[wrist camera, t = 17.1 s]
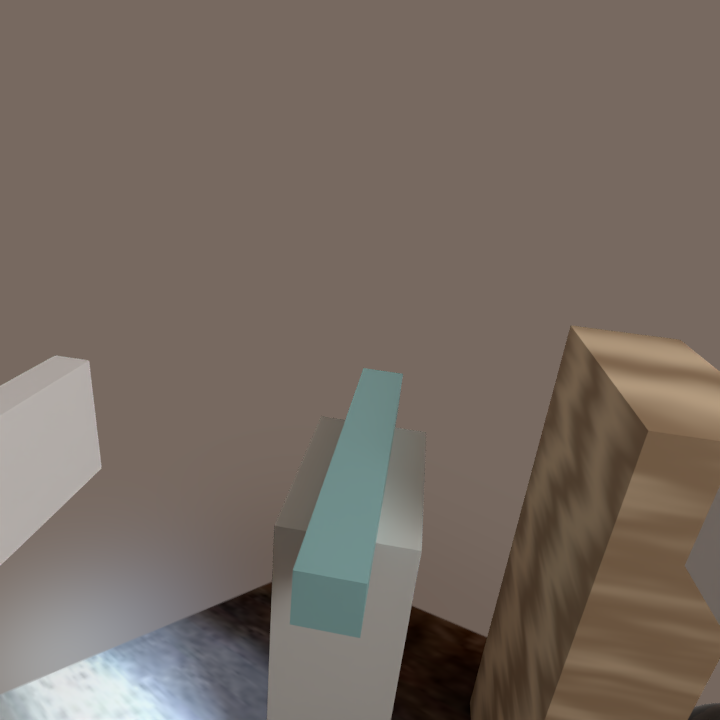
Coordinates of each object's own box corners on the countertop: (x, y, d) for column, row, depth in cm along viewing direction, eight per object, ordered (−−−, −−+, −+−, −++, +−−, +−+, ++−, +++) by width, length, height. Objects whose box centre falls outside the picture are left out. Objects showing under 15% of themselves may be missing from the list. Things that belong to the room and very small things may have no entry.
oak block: (583, 919, 36) (825, 456, 21) (481, 896, 37) (648, 430, 22) (545, 717, 49) (680, 339, 34) (470, 702, 50) (570, 325, 35)
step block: (375, 806, 41) (421, 550, 31) (264, 782, 42) (274, 525, 32) (390, 649, 54) (426, 432, 44) (304, 633, 55) (321, 416, 45)
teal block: (360, 638, 25) (367, 583, 24) (289, 624, 26) (292, 570, 24) (398, 409, 47) (402, 373, 46) (359, 403, 48) (363, 368, 46)
